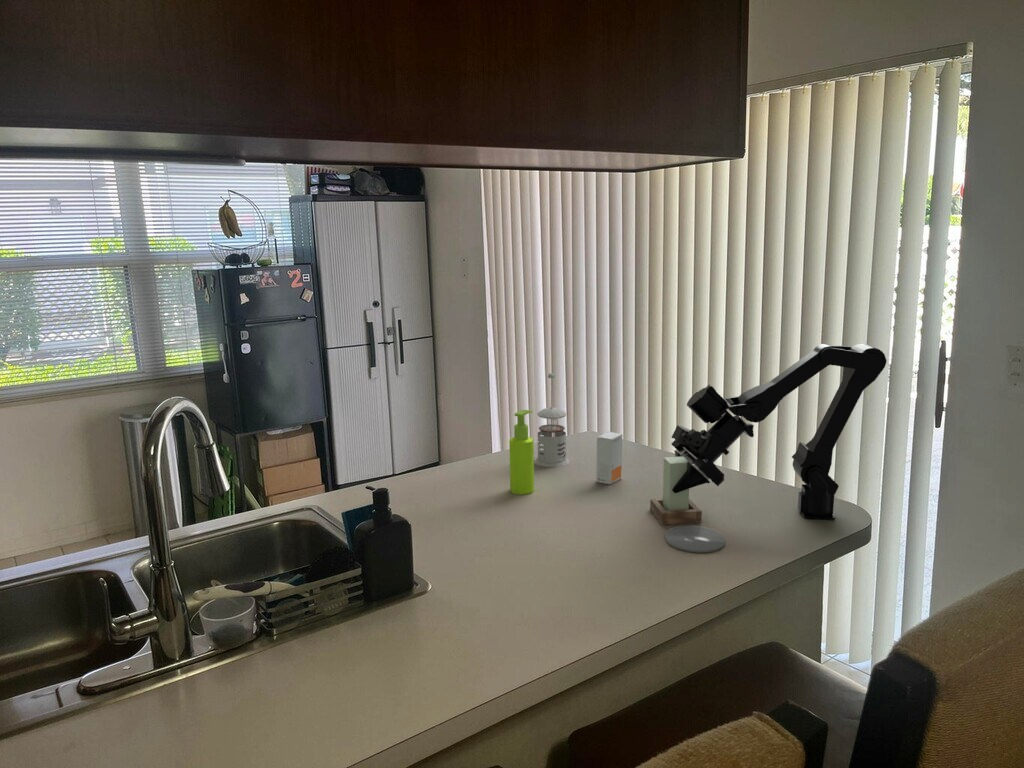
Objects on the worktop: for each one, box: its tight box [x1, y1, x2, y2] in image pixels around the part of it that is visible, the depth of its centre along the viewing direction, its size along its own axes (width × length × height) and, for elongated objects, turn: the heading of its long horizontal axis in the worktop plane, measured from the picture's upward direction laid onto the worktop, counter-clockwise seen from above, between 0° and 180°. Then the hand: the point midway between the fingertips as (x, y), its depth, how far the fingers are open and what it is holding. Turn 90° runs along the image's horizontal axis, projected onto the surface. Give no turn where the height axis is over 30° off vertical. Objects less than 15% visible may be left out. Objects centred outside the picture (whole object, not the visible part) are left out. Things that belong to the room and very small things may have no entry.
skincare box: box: [595, 431, 623, 485], centre depth 184 cm, size 6×4×12 cm
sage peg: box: [662, 456, 690, 511], centre depth 161 cm, size 4×4×13 cm
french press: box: [534, 372, 571, 468], centre depth 200 cm, size 10×12×25 cm
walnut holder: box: [649, 497, 703, 525], centre depth 162 cm, size 9×9×2 cm
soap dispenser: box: [508, 409, 535, 496], centre depth 178 cm, size 6×7×20 cm
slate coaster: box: [664, 525, 726, 554], centre depth 149 cm, size 12×12×1 cm
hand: (669, 487), depth 161 cm, fingers open, 5 cm apart
